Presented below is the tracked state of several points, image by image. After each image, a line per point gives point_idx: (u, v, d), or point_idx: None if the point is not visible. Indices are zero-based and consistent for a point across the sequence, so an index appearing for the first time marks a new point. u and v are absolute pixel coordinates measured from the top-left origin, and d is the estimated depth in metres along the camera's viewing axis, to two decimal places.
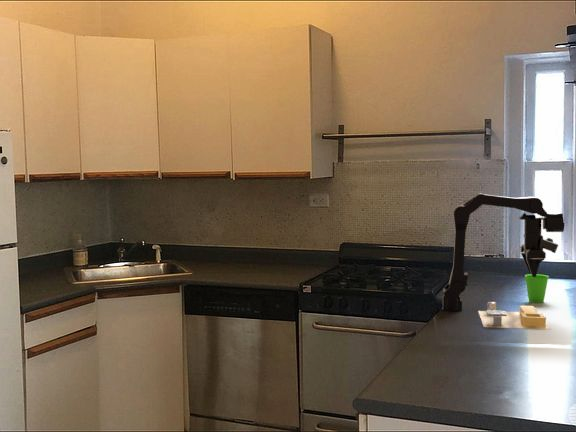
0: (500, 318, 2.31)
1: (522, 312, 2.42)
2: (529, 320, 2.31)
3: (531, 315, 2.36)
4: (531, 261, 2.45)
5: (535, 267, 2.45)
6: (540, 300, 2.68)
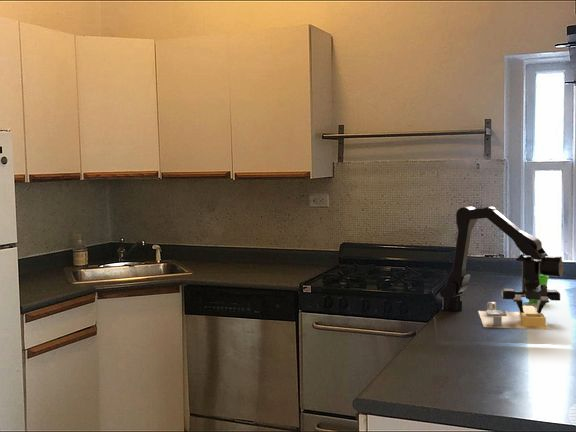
0: (500, 318, 2.31)
1: None
2: (529, 320, 2.31)
3: (531, 315, 2.36)
4: None
5: (519, 308, 2.40)
6: None
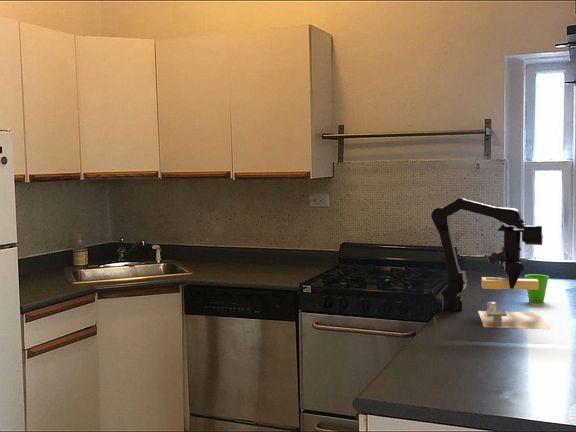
0: (500, 318, 2.31)
1: None
2: None
3: None
4: None
5: None
6: (540, 300, 2.68)
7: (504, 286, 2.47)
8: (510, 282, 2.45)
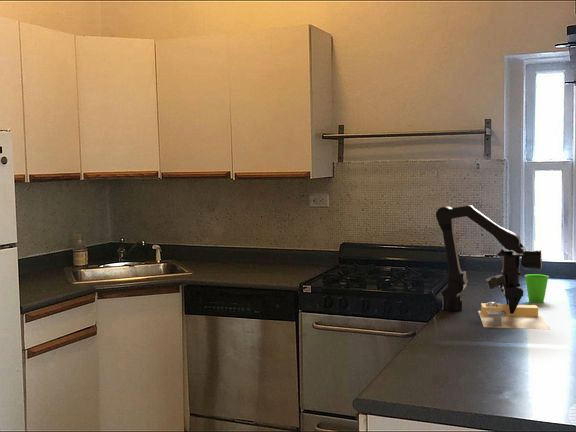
0: (500, 318, 2.31)
1: None
2: (481, 307, 2.52)
3: (498, 307, 2.50)
4: None
5: None
6: (540, 300, 2.68)
7: None
8: (510, 307, 2.45)
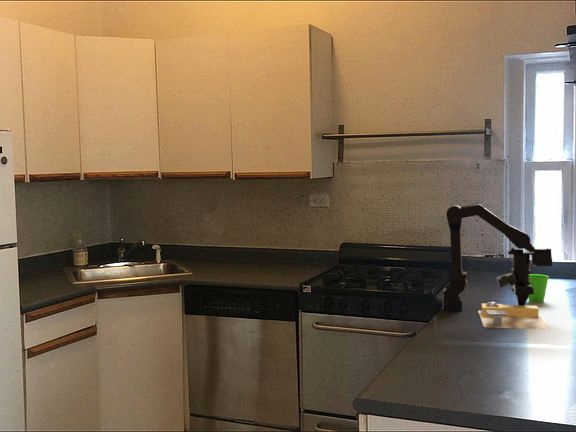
0: (500, 318, 2.31)
1: None
2: None
3: (498, 307, 2.49)
4: None
5: None
6: (540, 300, 2.68)
7: None
8: (519, 303, 2.50)
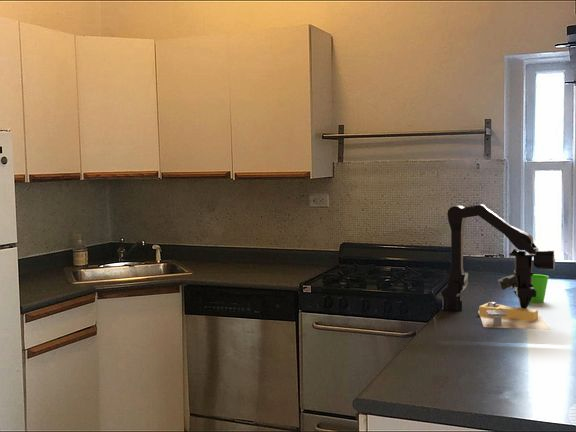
0: (500, 318, 2.31)
1: None
2: None
3: None
4: None
5: None
6: (540, 300, 2.68)
7: None
8: (521, 306, 2.45)
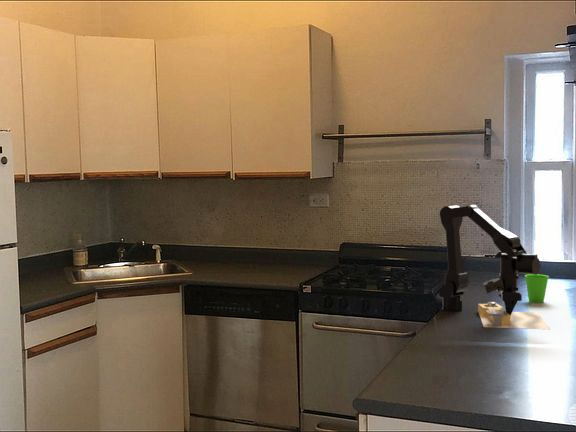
0: (500, 318, 2.31)
1: None
2: None
3: None
4: None
5: None
6: (540, 300, 2.68)
7: None
8: (507, 310, 2.39)
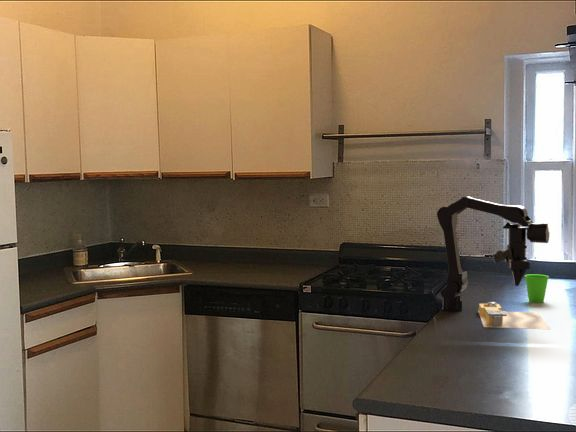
0: (500, 318, 2.31)
1: None
2: None
3: None
4: None
5: None
6: (540, 300, 2.68)
7: (484, 314, 2.46)
8: (515, 279, 2.43)
